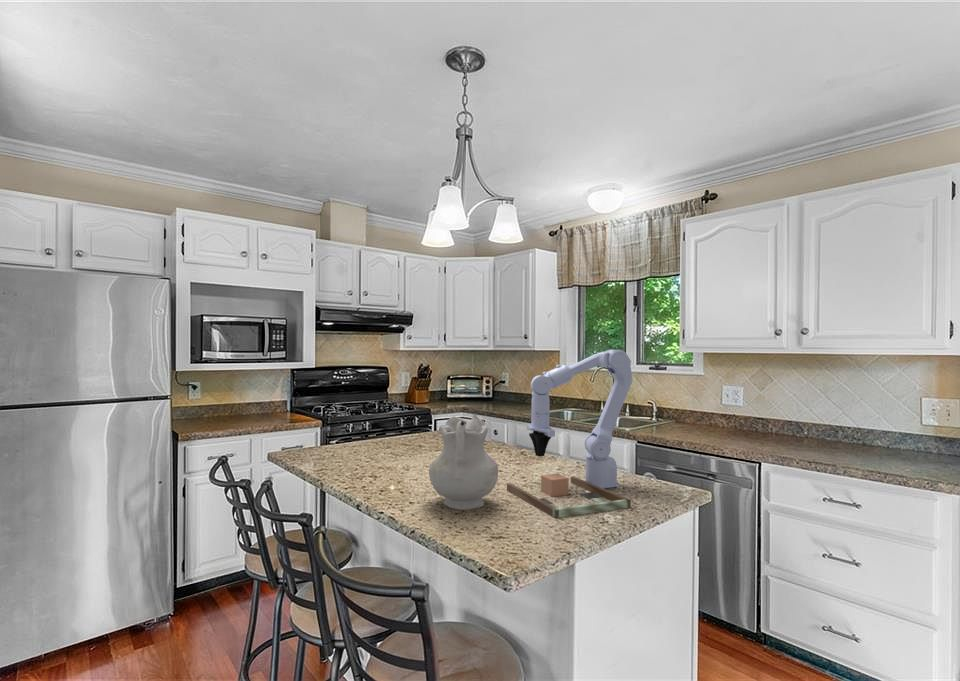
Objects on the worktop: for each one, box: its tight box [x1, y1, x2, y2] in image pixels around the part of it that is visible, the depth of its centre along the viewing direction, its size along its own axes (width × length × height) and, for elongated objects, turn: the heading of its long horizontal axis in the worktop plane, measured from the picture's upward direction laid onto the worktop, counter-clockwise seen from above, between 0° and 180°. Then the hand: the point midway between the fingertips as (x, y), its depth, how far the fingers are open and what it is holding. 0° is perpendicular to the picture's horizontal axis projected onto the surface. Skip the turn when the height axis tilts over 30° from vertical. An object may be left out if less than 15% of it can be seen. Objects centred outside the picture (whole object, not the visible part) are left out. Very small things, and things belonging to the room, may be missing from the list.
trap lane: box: [506, 476, 632, 519], centre depth 153 cm, size 24×28×2 cm
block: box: [540, 473, 570, 497], centre depth 158 cm, size 6×6×5 cm
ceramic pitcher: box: [428, 414, 499, 511], centre depth 145 cm, size 22×20×25 cm
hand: (540, 455), depth 166 cm, fingers closed
